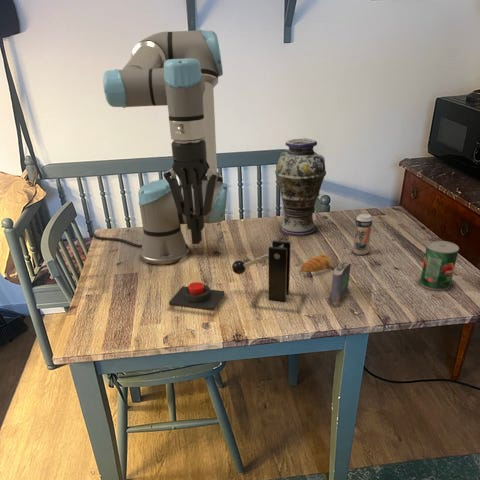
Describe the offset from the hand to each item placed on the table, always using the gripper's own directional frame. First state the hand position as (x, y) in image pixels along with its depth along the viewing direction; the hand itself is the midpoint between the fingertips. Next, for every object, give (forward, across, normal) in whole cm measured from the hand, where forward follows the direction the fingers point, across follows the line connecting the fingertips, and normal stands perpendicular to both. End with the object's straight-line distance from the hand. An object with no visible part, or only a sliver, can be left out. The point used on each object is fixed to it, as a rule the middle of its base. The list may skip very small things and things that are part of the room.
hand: (197, 241), depth 113 cm
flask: (+17, +34, +11) cm, 40 cm away
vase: (+17, +16, +58) cm, 62 cm away
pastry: (+17, +26, +27) cm, 41 cm away
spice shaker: (+17, +38, +42) cm, 59 cm away
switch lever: (+8, +15, +6) cm, 18 cm away
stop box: (+17, -1, 0) cm, 17 cm away
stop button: (+14, -1, -1) cm, 14 cm away
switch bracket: (+17, +19, +6) cm, 27 cm away
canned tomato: (+17, +59, +24) cm, 66 cm away
